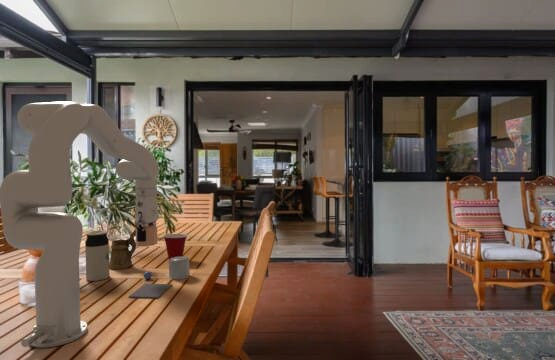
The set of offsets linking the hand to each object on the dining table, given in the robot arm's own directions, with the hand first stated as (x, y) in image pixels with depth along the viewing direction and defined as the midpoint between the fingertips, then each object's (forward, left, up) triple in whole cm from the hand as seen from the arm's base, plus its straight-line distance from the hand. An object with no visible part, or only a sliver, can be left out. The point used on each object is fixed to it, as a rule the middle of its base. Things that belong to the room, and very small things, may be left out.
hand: (146, 238), depth 128 cm
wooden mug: (+15, +17, -16) cm, 28 cm away
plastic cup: (+26, -1, -16) cm, 31 cm away
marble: (0, 0, -16) cm, 16 cm away
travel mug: (0, +20, -16) cm, 26 cm away
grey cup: (+4, -11, -16) cm, 20 cm away
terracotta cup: (0, 0, -2) cm, 2 cm away
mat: (-12, -7, -16) cm, 21 cm away
